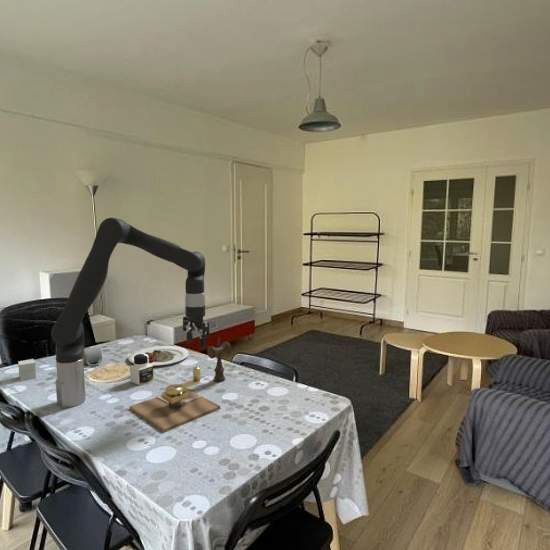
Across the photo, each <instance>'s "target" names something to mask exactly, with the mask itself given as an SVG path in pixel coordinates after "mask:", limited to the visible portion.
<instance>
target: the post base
mask: <svg viewBox="0 0 550 550" xmlns="http://www.w3.org/2000/svg"><path fill="white" fill-rule="evenodd" d="M183 390H184V391H186V392H188V398H186V399H183V400H181V401H178V402H175V403H173V404H171V403H169V402H168V401H166V400H164V399H163V398H162V394H159V395H157V396H156V397H152V398H149V399H147V400H144V401H141V402H138V403H135V404H132V405H129V409H130V410H131V411H132V412H133V413H135V414H136V415H138V416H140V417H141V418H142V419H144V420H145V421H146V422H148V423H150V424H151V425H152V426H153V427H155V428H156V429H158V430H159V431H161V432H162V433H165V432H168V431H170V430H173V429H175V428H177V427H179V426H182V425H184V424H187V423H189V422H191V421H194V420H196V419H199V418H201V417H203V416H207V415H208V414H211V413H213V412H215V411H218V410H221V406H220V404H217V403H215V402H213V401H211V400H210V399H208V398H205V397H204V396H203V395H201V394H198V393H196V392H194V391H192V390H190V389H189V388H184V389H183ZM171 397H175V396H171Z"/></svg>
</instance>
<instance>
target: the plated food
mask: <svg viewBox="0 0 550 550" xmlns="http://www.w3.org/2000/svg"><path fill="white" fill-rule="evenodd" d="M137 354H147V355H148V359H149V363H148V364H151V365H153V367H158V366H165V365H172V364H175V363H178V362H181V361H183V360H185V359H186V358H188V356H189V351H188V350H187V349H186V348H184V347H180V346H177V345H176V346H175V345H158V346H149V347H144V348H141V349H138V350H135V351H133V352H131V353H130V354H129V355H128V357H127V360H128V361H129V362H130V363H132V364H133V365H134V356H135V355H137Z"/></svg>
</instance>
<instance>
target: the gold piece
mask: <svg viewBox="0 0 550 550" xmlns="http://www.w3.org/2000/svg"><path fill="white" fill-rule="evenodd" d="M200 381H201V367H200V366H194V367H192V380H189V381H185V382H183V383H180V384H179V383H178V384H177V383H176V384H175V383H173V384H169V385H167V386H166V387H165V391H162V392H161V393H160V395H162V398H163V399H164V400H166V401H168V402H169V403H171V404H173V403H175V402H178V401H181V400H183V399H186V398H188V392H186V391H184V390H183V389H184V388H186V389H188V388H190V387H193V386H195V385H198V384H200ZM171 396H175V397H171Z"/></svg>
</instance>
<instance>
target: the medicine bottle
mask: <svg viewBox="0 0 550 550" xmlns="http://www.w3.org/2000/svg"><path fill="white" fill-rule="evenodd" d="M148 363H149V359H148V355H147V354H137V355H135V356H134V364H133V365H130V366H129V375H130V383H133V384H135V385H139V386H142V385H145V384H147V383H150V382H154V366H153V365H151V364H148Z"/></svg>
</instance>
